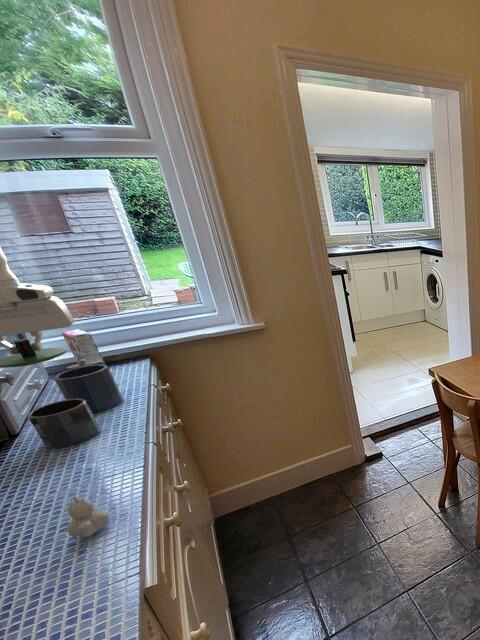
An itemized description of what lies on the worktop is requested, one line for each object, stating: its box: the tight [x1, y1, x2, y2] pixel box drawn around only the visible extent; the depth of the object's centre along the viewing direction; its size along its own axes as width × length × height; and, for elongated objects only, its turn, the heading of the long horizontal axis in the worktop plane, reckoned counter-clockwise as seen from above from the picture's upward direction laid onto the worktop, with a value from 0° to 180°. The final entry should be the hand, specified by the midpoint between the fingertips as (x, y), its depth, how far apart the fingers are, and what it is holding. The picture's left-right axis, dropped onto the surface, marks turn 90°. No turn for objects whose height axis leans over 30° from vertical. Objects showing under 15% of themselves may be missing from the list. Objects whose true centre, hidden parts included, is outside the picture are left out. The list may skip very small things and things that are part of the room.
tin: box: [53, 365, 124, 415], centre depth 123 cm, size 11×11×12 cm
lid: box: [0, 338, 67, 369], centre depth 99 cm, size 12×12×5 cm
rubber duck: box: [66, 495, 110, 538], centre depth 73 cm, size 5×7×8 cm
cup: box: [26, 399, 101, 450], centre depth 106 cm, size 10×10×9 cm
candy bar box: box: [61, 329, 107, 366], centre depth 147 cm, size 11×5×16 cm, turn 59°
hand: (27, 351), depth 99 cm, fingers closed on lid, 2 cm apart
